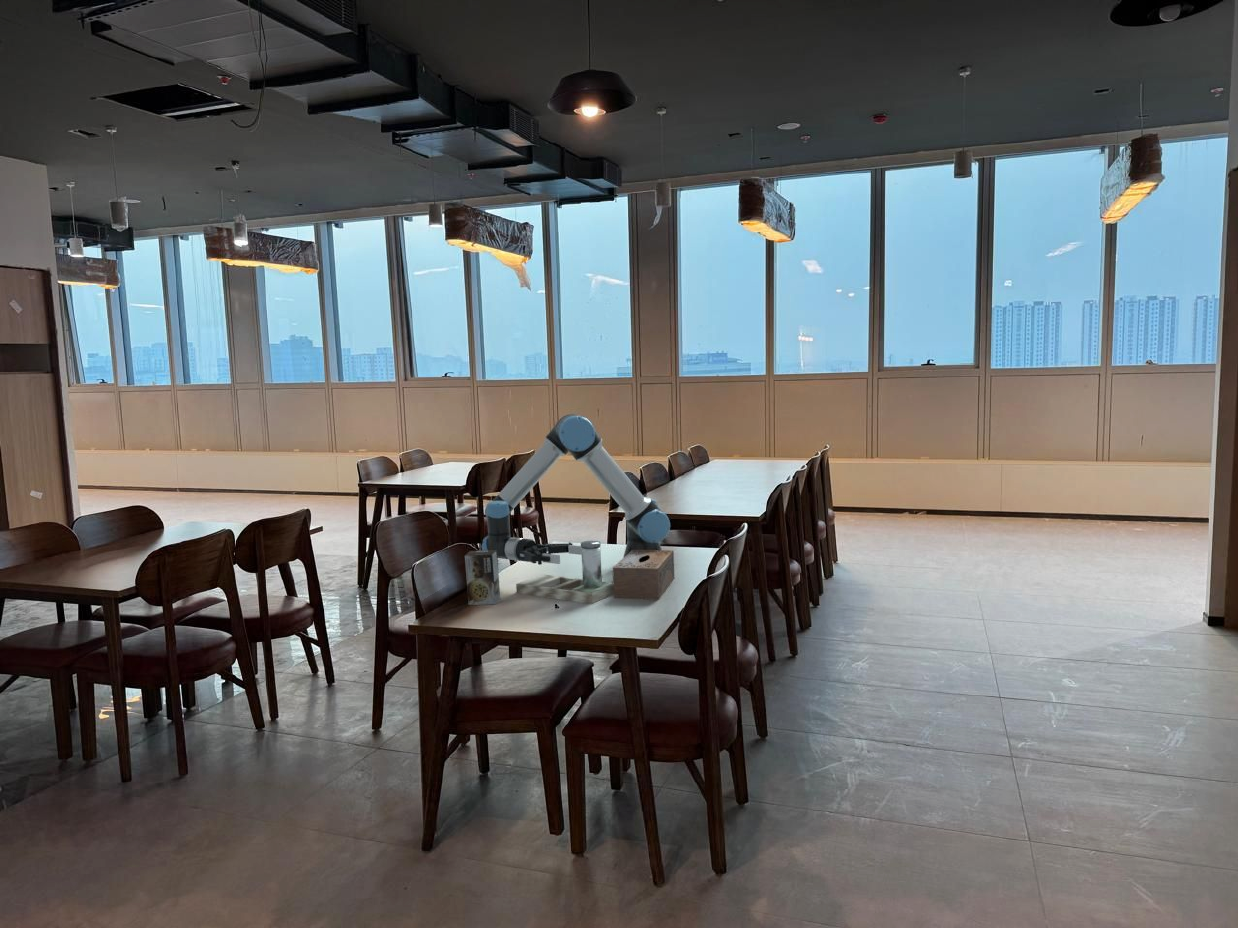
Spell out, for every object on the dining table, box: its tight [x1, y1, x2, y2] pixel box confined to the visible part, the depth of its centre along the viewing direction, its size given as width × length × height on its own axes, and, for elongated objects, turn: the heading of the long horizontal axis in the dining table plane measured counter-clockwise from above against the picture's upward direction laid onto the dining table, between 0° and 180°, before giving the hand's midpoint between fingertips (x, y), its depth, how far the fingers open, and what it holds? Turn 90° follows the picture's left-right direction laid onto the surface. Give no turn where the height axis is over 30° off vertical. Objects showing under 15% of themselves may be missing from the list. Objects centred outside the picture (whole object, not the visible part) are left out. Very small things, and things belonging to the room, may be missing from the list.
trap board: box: [515, 574, 614, 605], centre depth 266 cm, size 30×14×3 cm, turn 56°
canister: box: [580, 540, 603, 589], centre depth 259 cm, size 6×6×14 cm
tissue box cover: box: [612, 549, 676, 600], centre depth 267 cm, size 26×14×10 cm, turn 166°
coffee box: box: [464, 550, 501, 606], centre depth 258 cm, size 9×6×16 cm
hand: (572, 555), depth 263 cm, fingers open, 13 cm apart
